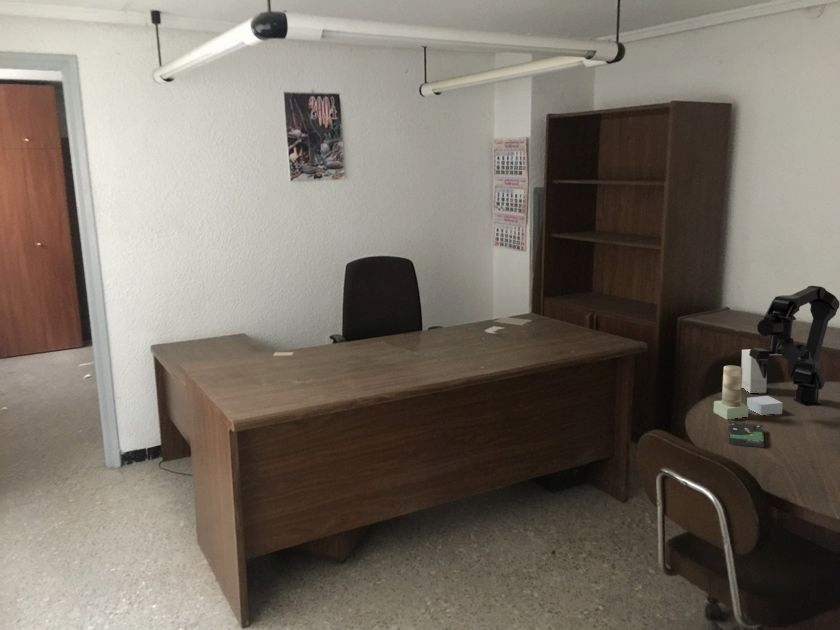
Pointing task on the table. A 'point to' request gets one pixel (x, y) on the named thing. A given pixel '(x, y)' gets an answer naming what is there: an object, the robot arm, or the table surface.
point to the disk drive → (746, 434)
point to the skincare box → (752, 374)
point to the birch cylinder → (732, 386)
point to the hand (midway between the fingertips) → (777, 378)
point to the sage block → (730, 410)
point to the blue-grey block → (765, 405)
